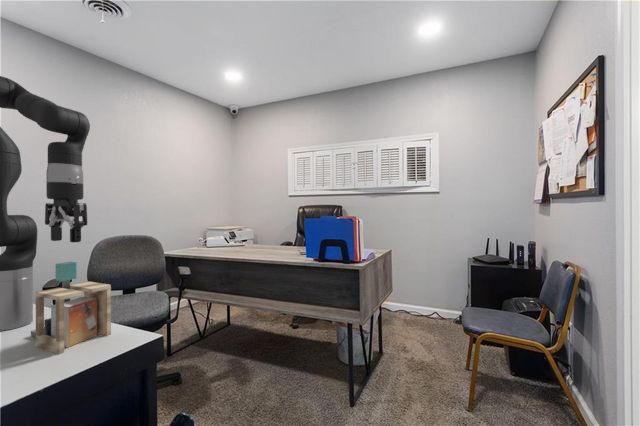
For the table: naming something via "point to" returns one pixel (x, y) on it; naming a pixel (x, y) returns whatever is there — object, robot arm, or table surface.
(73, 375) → the table surface
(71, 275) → the slider
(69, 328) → the small box
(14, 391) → the table surface
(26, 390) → the table surface
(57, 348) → the tunnel
